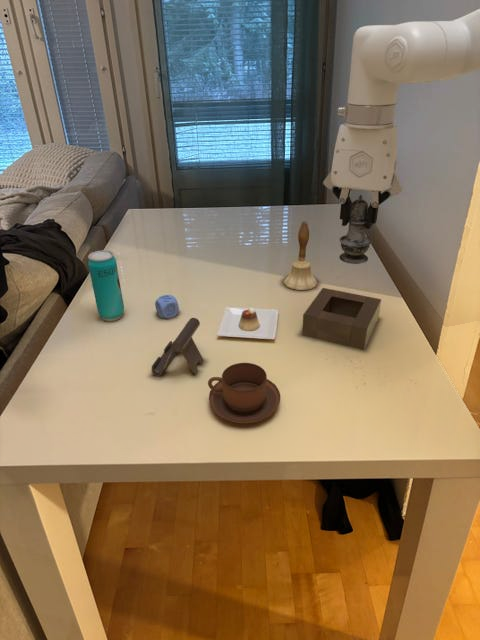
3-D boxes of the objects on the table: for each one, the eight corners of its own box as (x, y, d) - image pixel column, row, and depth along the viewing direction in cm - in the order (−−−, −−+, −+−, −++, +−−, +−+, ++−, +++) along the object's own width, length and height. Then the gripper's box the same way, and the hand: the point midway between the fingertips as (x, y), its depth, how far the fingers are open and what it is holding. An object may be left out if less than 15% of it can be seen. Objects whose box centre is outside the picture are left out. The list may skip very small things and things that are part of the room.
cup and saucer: (213, 434, 73) (211, 404, 70) (206, 386, 84) (204, 358, 80) (287, 424, 75) (289, 395, 72) (271, 378, 85) (272, 351, 82)
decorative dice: (172, 308, 108) (170, 292, 106) (179, 315, 105) (178, 299, 103) (156, 313, 106) (154, 297, 104) (163, 320, 103) (161, 304, 101)
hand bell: (298, 273, 123) (301, 214, 114) (323, 282, 118) (328, 221, 109) (277, 283, 118) (278, 222, 110) (302, 294, 113) (306, 231, 104)
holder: (378, 319, 102) (381, 299, 100) (364, 349, 92) (367, 328, 90) (321, 306, 107) (322, 287, 105) (302, 335, 97) (303, 314, 95)
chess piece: (375, 262, 86) (384, 198, 80) (345, 266, 85) (352, 201, 79) (361, 250, 91) (368, 189, 84) (332, 253, 90) (338, 191, 83)
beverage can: (128, 318, 104) (118, 256, 97) (103, 325, 102) (90, 262, 94) (120, 307, 109) (110, 247, 101) (96, 314, 106) (83, 253, 98)
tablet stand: (171, 349, 94) (166, 313, 89) (207, 354, 92) (205, 318, 88) (152, 375, 87) (146, 337, 82) (191, 382, 85) (188, 344, 80)
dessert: (216, 339, 96) (215, 320, 94) (226, 310, 106) (225, 292, 104) (274, 343, 95) (275, 323, 92) (278, 313, 105) (279, 295, 102)
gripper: (313, 116, 75) (306, 225, 85) (420, 121, 69) (400, 238, 78) (326, 110, 81) (319, 213, 90) (427, 114, 75) (408, 224, 84)
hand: (357, 224), depth 84 cm, fingers closed on chess piece, 3 cm apart
